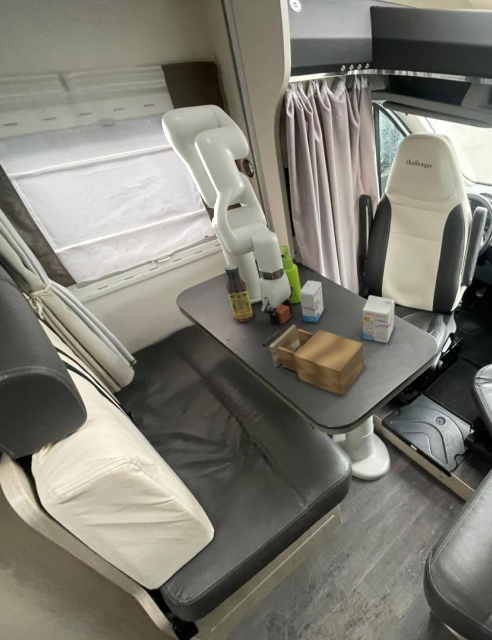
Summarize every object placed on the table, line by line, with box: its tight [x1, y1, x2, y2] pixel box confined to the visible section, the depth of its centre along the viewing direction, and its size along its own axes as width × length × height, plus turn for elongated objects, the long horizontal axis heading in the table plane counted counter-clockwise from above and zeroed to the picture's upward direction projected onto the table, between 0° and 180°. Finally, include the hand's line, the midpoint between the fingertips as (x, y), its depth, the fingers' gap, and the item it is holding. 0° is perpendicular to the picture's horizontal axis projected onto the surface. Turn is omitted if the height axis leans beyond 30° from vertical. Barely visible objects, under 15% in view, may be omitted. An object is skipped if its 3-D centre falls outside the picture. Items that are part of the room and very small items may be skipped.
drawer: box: [261, 324, 315, 373], centre depth 108 cm, size 19×11×8 cm, turn 64°
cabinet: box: [294, 329, 364, 397], centre depth 104 cm, size 15×13×10 cm
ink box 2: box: [362, 294, 396, 344], centre depth 117 cm, size 9×8×13 cm
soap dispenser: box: [281, 244, 302, 304], centre depth 130 cm, size 6×7×20 cm
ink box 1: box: [300, 280, 325, 324], centre depth 125 cm, size 9×5×12 cm, turn 168°
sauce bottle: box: [224, 264, 254, 323], centre depth 121 cm, size 7×6×20 cm
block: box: [271, 303, 292, 325], centre depth 126 cm, size 4×4×4 cm
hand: (282, 317), depth 127 cm, fingers open, 6 cm apart
